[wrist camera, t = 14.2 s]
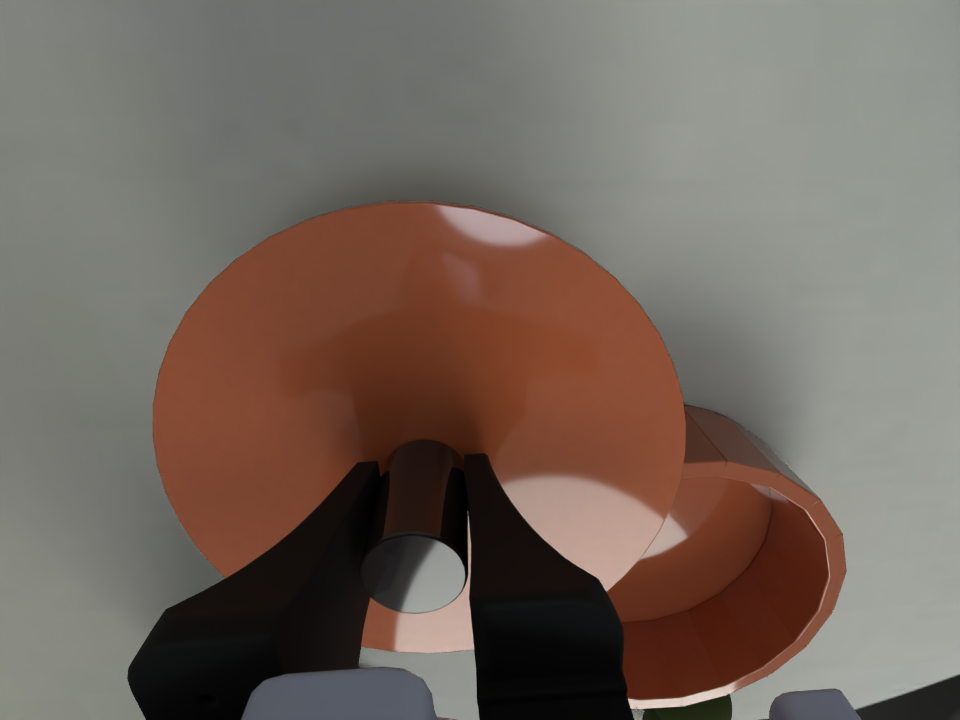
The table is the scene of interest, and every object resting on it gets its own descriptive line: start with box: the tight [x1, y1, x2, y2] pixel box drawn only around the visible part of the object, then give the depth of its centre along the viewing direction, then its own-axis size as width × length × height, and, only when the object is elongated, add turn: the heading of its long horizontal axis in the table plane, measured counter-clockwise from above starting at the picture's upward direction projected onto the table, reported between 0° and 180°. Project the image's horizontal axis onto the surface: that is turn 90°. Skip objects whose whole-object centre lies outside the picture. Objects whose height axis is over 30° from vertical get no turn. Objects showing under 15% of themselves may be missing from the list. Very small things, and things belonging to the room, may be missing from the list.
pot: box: [607, 405, 846, 709], centre depth 25 cm, size 15×15×5 cm
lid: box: [153, 200, 686, 653], centre depth 14 cm, size 16×16×5 cm
